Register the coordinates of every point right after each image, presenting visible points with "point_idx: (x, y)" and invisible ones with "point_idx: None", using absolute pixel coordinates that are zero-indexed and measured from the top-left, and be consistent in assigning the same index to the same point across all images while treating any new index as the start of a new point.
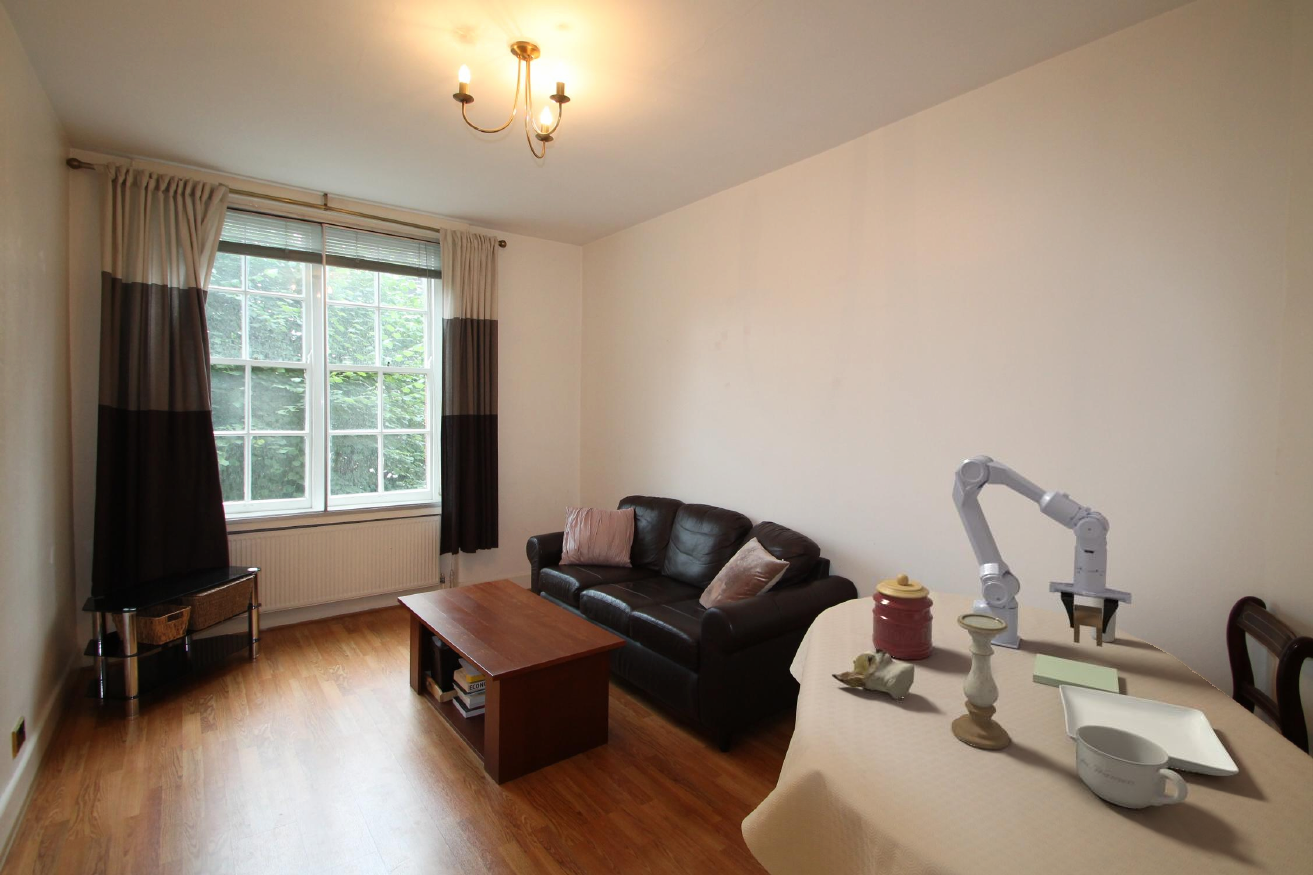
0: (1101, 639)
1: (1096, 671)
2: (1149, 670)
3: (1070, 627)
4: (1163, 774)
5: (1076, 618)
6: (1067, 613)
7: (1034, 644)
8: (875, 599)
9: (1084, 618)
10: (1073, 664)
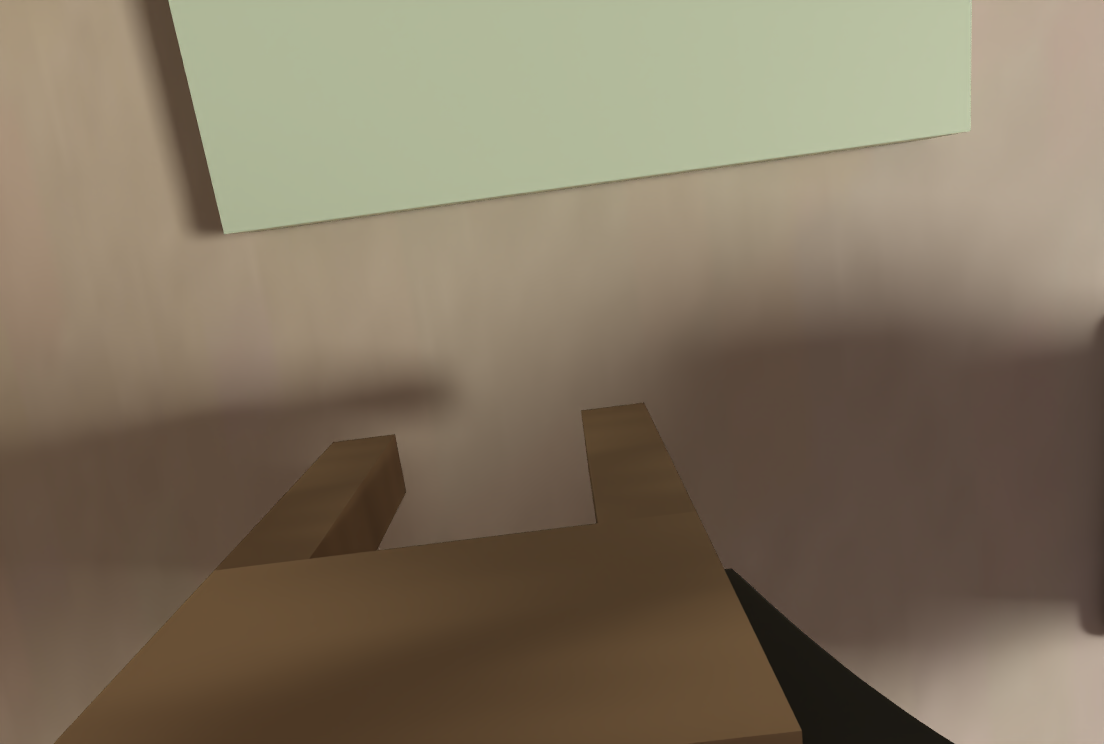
0: (309, 479)
1: (363, 13)
2: (97, 558)
3: (735, 573)
4: None
5: (672, 584)
6: (906, 716)
7: (974, 556)
8: None
9: (499, 627)
10: (589, 56)
